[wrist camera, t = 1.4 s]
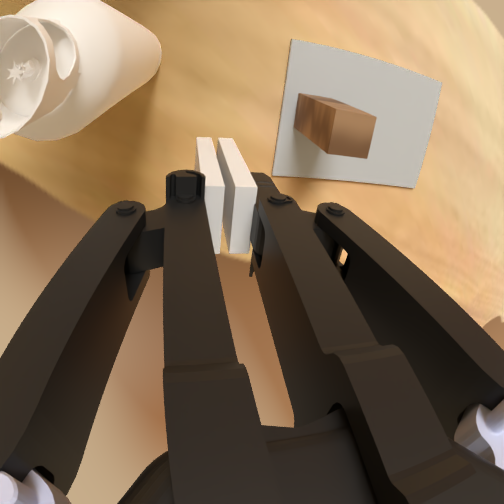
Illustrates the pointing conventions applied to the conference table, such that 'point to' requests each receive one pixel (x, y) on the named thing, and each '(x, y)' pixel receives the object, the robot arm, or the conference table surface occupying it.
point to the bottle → (69, 65)
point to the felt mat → (363, 98)
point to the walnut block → (334, 125)
